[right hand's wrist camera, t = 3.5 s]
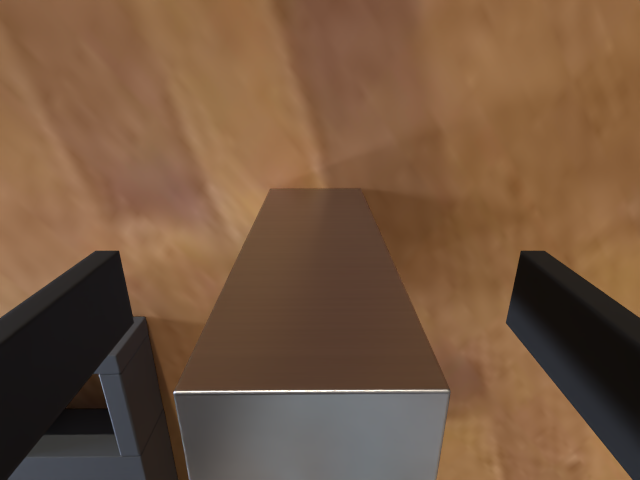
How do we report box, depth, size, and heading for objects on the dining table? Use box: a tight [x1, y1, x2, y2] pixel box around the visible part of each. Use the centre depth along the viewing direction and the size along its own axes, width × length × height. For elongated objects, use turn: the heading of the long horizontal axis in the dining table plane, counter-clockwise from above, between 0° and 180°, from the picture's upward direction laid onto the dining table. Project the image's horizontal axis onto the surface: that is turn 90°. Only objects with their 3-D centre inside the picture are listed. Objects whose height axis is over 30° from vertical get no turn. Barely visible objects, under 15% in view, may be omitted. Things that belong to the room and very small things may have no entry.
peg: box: [174, 189, 451, 480], centre depth 12 cm, size 4×4×12 cm
